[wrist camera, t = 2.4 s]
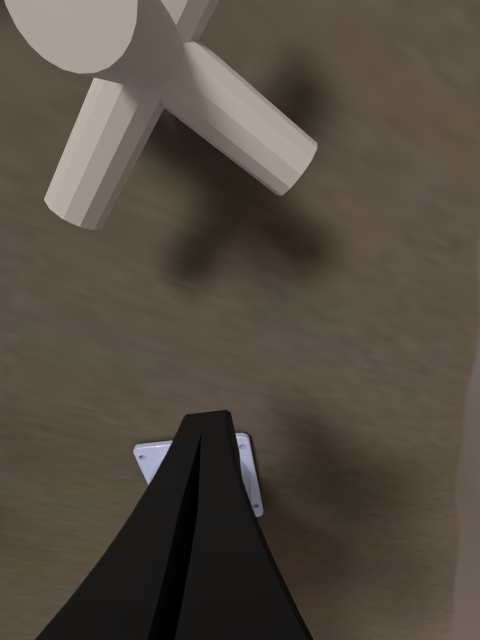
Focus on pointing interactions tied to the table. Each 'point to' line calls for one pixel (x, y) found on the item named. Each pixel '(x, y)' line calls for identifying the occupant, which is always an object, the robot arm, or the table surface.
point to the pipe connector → (150, 97)
